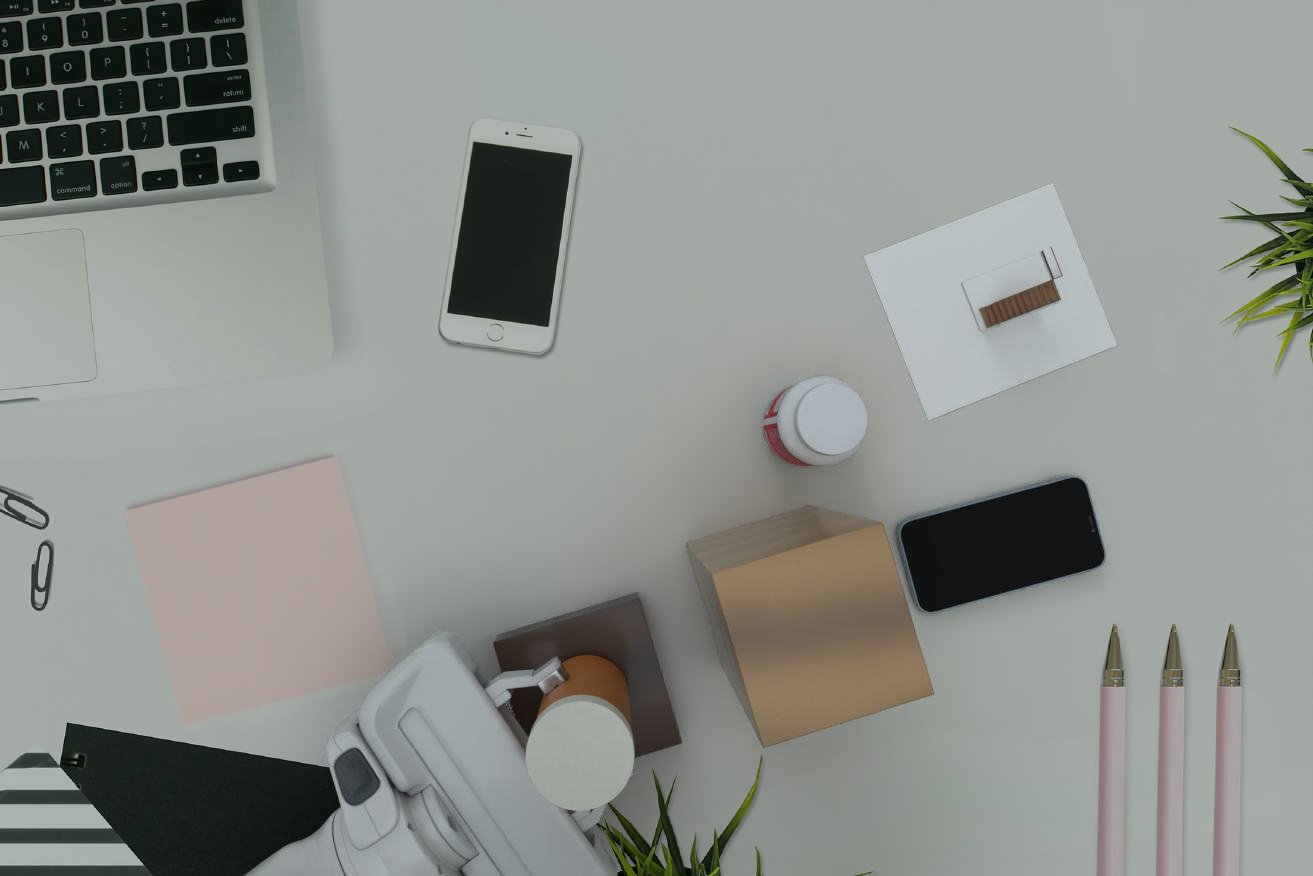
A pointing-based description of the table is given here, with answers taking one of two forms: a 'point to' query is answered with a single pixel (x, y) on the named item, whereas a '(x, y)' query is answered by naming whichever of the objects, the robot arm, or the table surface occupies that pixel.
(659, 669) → the walnut block
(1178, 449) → the table surface
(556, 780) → the amber bottle
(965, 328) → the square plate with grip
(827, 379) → the pill bottle
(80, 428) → the table surface
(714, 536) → the oak stand
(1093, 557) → the smartphone
